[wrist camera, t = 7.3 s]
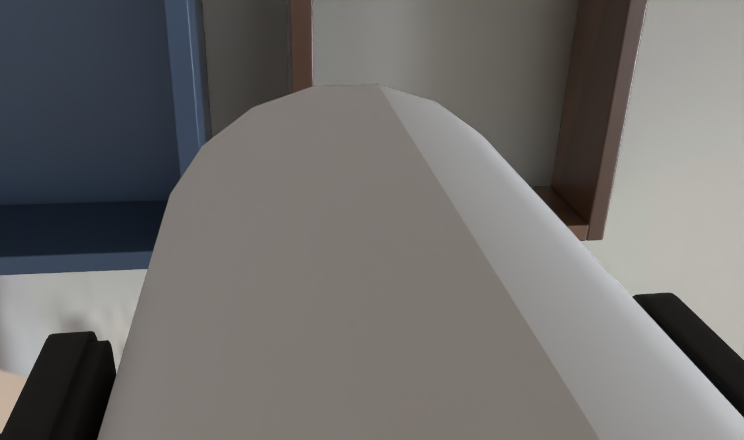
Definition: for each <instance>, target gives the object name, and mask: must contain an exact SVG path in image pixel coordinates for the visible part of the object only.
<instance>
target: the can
mask: <svg viewBox="0 0 744 440" xmlns="http://www.w3.org/2000/svg"><path fill="white" fill-rule="evenodd" d="M97 440H744V418H743V416H742V415H741V414H740V413H739V412H738V411H737V410H736V409H735V408H734V407H733V406H732V405H731V403H730V402H729V401H728V400H727V399H726V398H725V397H724V396H723V395H722V394H721V393H720V392H719V390H718V389H717V388H716V387H715V386H714V385H713V384H712V383H711V382H710V381H709V380H708V379H707V378H706V376H705V375H704V374H703V373H702V372H701V371H700V370H699V369H698V368H697V367H696V366H695V365H694V363H693V362H692V361H691V360H690V359H689V358H688V357H687V356H686V355H685V354H684V353H683V352H682V351H681V349H680V348H679V347H678V346H677V345H676V344H675V343H674V342H673V341H672V340H671V339H670V338H669V336H668V335H667V334H666V333H665V332H664V331H663V330H662V329H661V328H660V327H659V326H658V325H657V324H656V322H655V321H654V320H653V319H652V318H651V317H650V316H649V315H648V314H647V313H646V312H645V311H644V309H643V308H642V307H641V306H640V305H639V304H638V303H637V302H636V301H635V300H634V299H633V298H632V297H631V295H630V294H629V293H628V292H627V291H626V290H625V289H624V288H623V287H622V286H621V285H620V284H619V282H618V281H617V280H616V279H615V278H614V277H613V276H612V275H611V274H610V273H609V272H608V271H607V269H606V268H605V267H604V266H603V265H602V264H601V263H600V262H599V261H598V260H597V259H596V258H595V257H594V255H593V254H592V253H591V252H590V251H589V250H588V249H587V248H586V247H585V246H584V245H583V244H582V242H581V241H580V240H579V239H578V238H577V237H576V236H575V235H574V234H573V233H572V232H571V231H570V230H569V228H568V227H567V226H566V225H565V224H564V223H563V222H562V221H561V220H560V219H559V218H558V217H557V215H556V214H555V213H554V212H553V211H552V210H551V209H550V208H549V207H548V206H547V205H546V204H545V203H544V201H543V200H542V199H541V198H540V197H539V196H538V195H537V194H536V193H535V192H534V191H533V190H532V188H531V187H530V186H529V185H528V184H527V183H526V182H525V181H524V180H523V179H522V178H521V177H520V176H519V174H518V173H517V172H516V171H515V170H514V169H513V168H512V167H511V166H510V165H509V164H508V163H507V161H506V160H505V159H504V158H503V157H502V156H501V155H500V154H499V153H498V152H497V151H496V150H495V148H494V147H493V146H492V145H491V144H490V143H489V142H488V141H487V140H486V139H485V138H484V137H483V136H482V135H481V134H480V133H478V132H477V131H476V130H474V129H473V128H472V127H470V126H469V125H467V124H466V123H465V122H463V121H462V120H461V119H459V118H458V117H456V116H455V115H454V114H452V113H451V112H450V111H448V110H447V109H445V108H444V107H443V106H441V105H440V104H438V103H437V102H435V101H432V100H428V99H425V98H422V97H418V96H415V95H412V94H408V93H405V92H402V91H398V90H395V89H392V88H388V87H385V86H382V85H379V84H372V85H331V86H312V87H309V88H307V89H304V90H301V91H298V92H295V93H292V94H289V95H287V96H284V97H281V98H278V99H275V100H272V101H269V102H266V103H264V104H261V105H258V106H255V107H252V108H251V109H250V110H249V111H247V112H246V113H245V114H243V115H242V116H241V117H239V118H238V119H237V120H235V121H234V122H233V123H231V124H230V125H229V126H228V127H226V128H225V129H224V130H222V131H221V132H220V133H218V134H217V135H216V136H214V137H213V138H212V139H210V140H209V141H208V142H207V143H205V144H204V145H203V146H202V147H201V149H200V150H199V152H198V153H197V155H196V156H195V158H194V159H193V161H192V162H191V164H190V165H189V167H188V168H187V170H186V171H185V173H184V174H183V176H182V177H181V179H180V180H179V182H178V183H177V185H176V186H175V188H174V189H173V191H172V192H171V194H170V196H169V199H168V203H167V206H166V210H165V213H164V216H163V220H162V223H161V226H160V230H159V233H158V236H157V240H156V243H155V247H154V250H153V253H152V257H151V260H150V263H149V267H148V270H147V274H146V277H145V280H144V284H143V287H142V290H141V294H140V297H139V301H138V304H137V307H136V311H135V314H134V317H133V321H132V324H131V327H130V331H129V334H128V338H127V341H126V344H125V348H124V351H123V354H122V358H121V361H120V365H119V368H118V371H117V375H116V378H115V381H114V385H113V388H112V392H111V395H110V398H109V402H108V405H107V408H106V412H105V415H104V418H103V422H102V425H101V429H100V432H99V435H98V439H97Z"/></svg>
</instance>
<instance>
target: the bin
mask: <svg viewBox="0 0 744 440" xmlns="http://www.w3.org/2000/svg"><path fill="white" fill-rule="evenodd" d="M210 139H212V128H211V115H210V101H209V87H208V73H207V60H206V46H205V32H204V18H203V4H202V0H0V275H15V274H39V273H62V272H86V271H109V270H132V269H148V267H149V263H150V260H151V257H152V253H153V250H154V247H155V243H156V240H157V236H158V233H159V230H160V226H161V223H162V220H163V216H164V213H165V210H166V206H167V203H168V199H169V196H170V194H171V192H172V191H173V189H174V188H175V186H176V185H177V183H178V182H179V180H180V179H181V177H182V176H183V174H184V173H185V171H186V170H187V168H188V167H189V165H190V164H191V162H192V161H193V159H194V158H195V156H196V155H197V153H198V152H199V150H200V149H201V147H202V146H203V145H204V144H205V143H207V142H208V141H209V140H210Z"/></svg>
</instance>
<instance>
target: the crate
mask: <svg viewBox="0 0 744 440" xmlns="http://www.w3.org/2000/svg"><path fill="white" fill-rule="evenodd" d="M647 4H648V0H579V6H578V13H577V19H576V26H575V33H574V40H573V46H572V53H571V60H570V66H569V73H568V80H567V86H566V93H565V100H564V106H563V113H562V120H561V126H560V133H559V140H558V146H557V153H556V160H555V166H554V173H553V180H552V187H531V188H532V190H533V191H534V192H535V193H536V194H537V195H538V196H539V197H540V198H541V199H542V200H543V201H544V203H545V204H546V205H547V206H548V207H549V208H550V209H551V210H552V211H553V212H554V213H555V214H556V215H557V217H558V218H559V219H560V220H561V221H562V222H563V223H564V224H565V225H566V226H567V227H568V228H569V230H570V231H571V232H572V233H573V234H574V235H575V236H576V237H577V238H578V239H579V240H580V241H585V240H602V239H603V235H604V230H605V224H606V219H607V214H608V209H609V203H610V198H611V193H612V188H613V182H614V177H615V172H616V167H617V161H618V156H619V151H620V146H621V140H622V135H623V130H624V125H625V119H626V114H627V109H628V104H629V98H630V93H631V88H632V82H633V77H634V72H635V67H636V61H637V56H638V51H639V46H640V40H641V35H642V30H643V25H644V19H645V14H646V9H647ZM287 37H288V80H289V94H292V93H295V92H298V91H301V90H304V89H307V88H309V87H312V86H313V0H287Z"/></svg>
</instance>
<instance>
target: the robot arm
mask: <svg viewBox="0 0 744 440" xmlns="http://www.w3.org/2000/svg"><path fill="white" fill-rule="evenodd" d="M632 298H633V299H634V300H635V301H636V302H637V303H638V304H639V305H640V306H641V307H642V308H643V309H644V311H645V312H646V313H647V314H648V315H649V316H650V317H651V318H652V319H653V320H654V321H655V322H656V324H657V325H658V326H659V327H660V328H661V329H662V330H663V331H664V332H665V333H666V334H667V335H668V336H669V338H670V339H671V340H672V341H673V342H674V343H675V344H676V345H677V346H678V347H679V348H680V349H681V351H682V352H683V353H684V354H685V355H686V356H687V357H688V358H689V359H690V360H691V361H692V362H693V363H694V365H695V366H696V367H697V368H698V369H699V370H700V371H701V372H702V373H703V374H704V375H705V376H706V378H707V379H708V380H709V381H710V382H711V383H712V384H713V385H714V386H715V387H716V388H717V389H718V390H719V392H720V393H721V394H722V395H723V396H724V397H725V398H726V399H727V400H728V401H729V402H730V403H731V405H732V406H733V407H734V408H735V409H736V410H737V411H738V412H739V413H740V414H741V415H742V416H743V418H744V360H743V359H742V358H741V357H740V356H739V355H738V354H737V353H736V352H734V351H733V350H732V349H731V348H730V347H729V346H728V345H727V344H726V343H725V342H724V341H723V340H722V339H721V338H720V337H719V336H718V335H717V334H716V333H715V332H714V331H713V330H712V329H710V328H709V327H708V326H707V325H706V324H705V323H704V322H703V321H702V320H701V319H700V318H699V317H698V316H697V315H696V314H695V313H694V312H693V311H692V310H691V309H690V308H689V307H688V306H686V305H685V304H684V303H683V302H682V301H681V300H680V299H679V298H678V297H677V296H676V295H674V294H673V293H655V294H640V295H635V296H633V297H632ZM115 378H116V369H115V363H114V358H113V352H112V347H111V344H110V342H109V341H108V340H106V341H98V340H97V337H96V335H95V333H94V332H93V331H88V332H73V333H58V334H51V335H49V336H48V338H47V339H46V341H45V343H44V346H43V348H42V350H41V352H40V354H39V356H38V358H37V360H36V362H35V364H34V367H33V369H32V371H31V373H30V375H29V377H28V379H27V381H26V383H25V385H24V387H23V390H22V392H21V394H20V396H19V398H18V400H17V402H16V404H15V406H14V408H13V411H12V413H11V415H10V417H9V419H8V421H7V423H6V425H5V427H4V429H3V432H2V434H0V440H97V439H98V435H99V432H100V429H101V425H102V422H103V418H104V415H105V412H106V408H107V405H108V402H109V398H110V395H111V392H112V388H113V385H114V381H115Z"/></svg>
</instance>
